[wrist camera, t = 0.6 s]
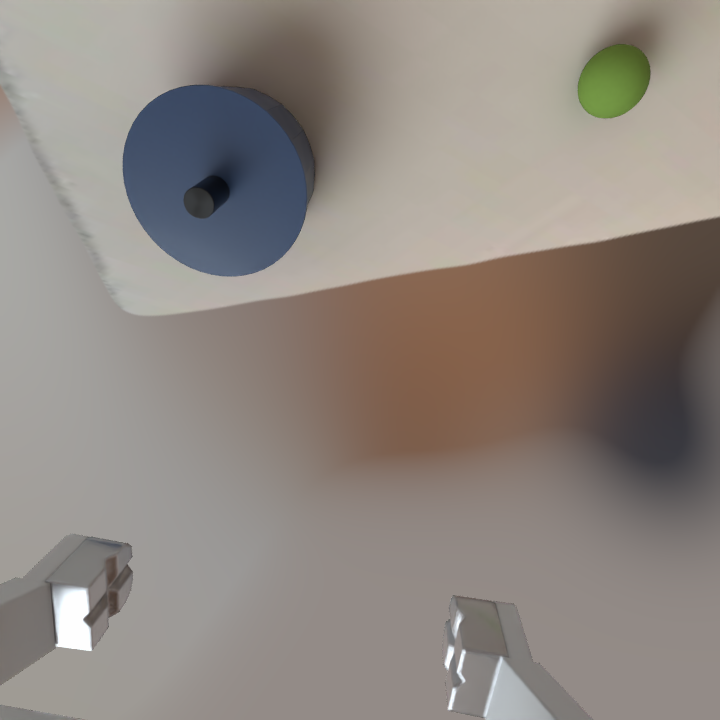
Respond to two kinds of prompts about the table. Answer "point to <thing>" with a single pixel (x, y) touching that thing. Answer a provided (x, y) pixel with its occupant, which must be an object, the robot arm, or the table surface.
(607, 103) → the guava
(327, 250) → the table surface
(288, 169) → the pot lid
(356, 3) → the table surface
